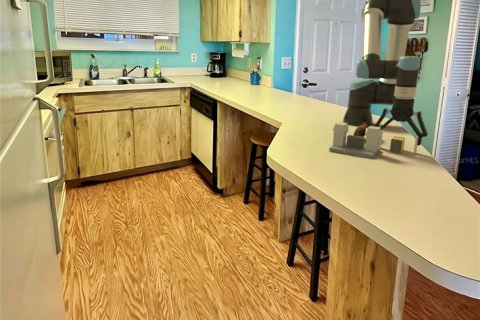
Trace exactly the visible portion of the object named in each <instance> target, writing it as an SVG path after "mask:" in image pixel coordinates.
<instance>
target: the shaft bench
mask: <svg viewBox="0 0 480 320" xmlns="http://www.w3.org/2000/svg"><path fill="white" fill-rule="evenodd" d="M369 126H370V127H368V128H367V129H366V132H365V136H366V137H365V136H364V137H360V136H353V135H354V134H353V135H352V134H351V135H350V134H348V132H349V125H348V123H343V122H340V121H337V122H336V123H334V124H333V126H332V131H333V138H332V145H331V146H330V147H329V150H328V151H329V152H331V153H338V154H342V155H343V154H344V155H349V156H355V157H361V158H368V159H372V158H375V157H376V155H378V154H379V153H380V152H381V147H378V146H379V139H380V138H381V135H382V132H383V129H382V130H381V126H378V127H374V125H369ZM347 134H348V135H347ZM382 136H383V135H382ZM365 140H366V141H365Z"/></svg>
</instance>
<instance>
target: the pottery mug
mask: <svg viewBox="0 0 480 320" xmlns="http://www.w3.org/2000/svg"><path fill="white" fill-rule="evenodd" d="M370 126H371V125H368V124H366V123H364V124H363V125H360V126H356V128H355V130H354V132H353V136H360V137H365V136H366V135H365V132H366V129H367V128H368V127H370Z"/></svg>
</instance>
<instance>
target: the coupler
mask: <svg viewBox="0 0 480 320" xmlns="http://www.w3.org/2000/svg"><path fill="white" fill-rule="evenodd" d="M405 141H406V138H405V137H402V136H395V135H394V136H393V138H391V139H390V145H389V146H390V147H389V153H394V152H395V153H396V154H401V153H402V152H403V151H404V147H405ZM395 153H394V154H395Z"/></svg>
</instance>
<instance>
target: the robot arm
mask: <svg viewBox="0 0 480 320" xmlns="http://www.w3.org/2000/svg"><path fill="white" fill-rule="evenodd" d="M421 1H422V0H368V1H366V3H365V4H364V6H363V8H362V10H361V20H360V21H361V22H362V25H363V26H362V44H361V45H362V46H361V59H358V60H357V61H356V69H355V77H356V78H357V79H354V80H352V81H350V85H349V89H348V90H349V93H348V102H347V103H348V104H347V110H346V111H345V114H344V116H343V120H342V123H348V124H347V126H349V125H350V126H355V127H358V126H360V125H363V124H364V123H366V124H368V125H369V126H374V127H381V130H382V135H381V138H380V139H379V146H378V147H380V148H381V147H382V140H383V134H384V133H383V130H384V129H385V128H386V127H387V126H388V125H389V124H392V122H393V121H396V122H401V123H405V122H407V123H408V125H409V126H410V127H411V129H412V130H413V132H414V133H415V134H416V137H415V141H414V146H413V155H416V154H417V151H418V147H419V146H421V144H422V140H423V138H426V137H427V136H428V135H429V133H428V130H427V128H426V125H425V122H424V119H423V117H422V115H423V112H422V111H421V110H419V111H414V105H415V97H416V94H417V86H418V80H419V79H418V78H419V73H420V68H421V57H420V56H417V55H416V56H415V55H411V56H410V55H405V54H406V50H407V45H408V40H409V34H410V28H411V26H413V25H414V24H415V21H416V20H417V19H419V18H420V15H421V6H422V5H421V4H422V3H421ZM383 20H386V21H387V22H386V23H387V24H388V26H389V32H388V39H387V44H386V52H385V57H384V59H381V57H382V56H381V55H382V54H381V53H382V52H381V51H382V50H381V49H382V22H383ZM375 80H378V81H375ZM372 105H380V106H381V105H382V106H383V105H384V106H386V105H387V106H392V108H391V109H389V108H387V107H385V108H384V109H382V114H381V115H380V117H379V118H378V120H377V121H376V122H375V124H374V125H373V122H374V121H373V120H374V119H373V115H372V112H371V111H372V110H371V109H372ZM389 114H390V115H391V117H390V118H389V119H388V120H387V121H386V122H385V123H384V124H382V125H381V126H380V124H381V123H382V122H383V120H384V119H385V117H386V116H387V115H389ZM413 116H414V117H415V118H417V122H418V125H419V128H420V129H419V128H418V126H417V125H416V123H415V122H414V120H413V118H412V117H413ZM420 130H421V131H420Z"/></svg>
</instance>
